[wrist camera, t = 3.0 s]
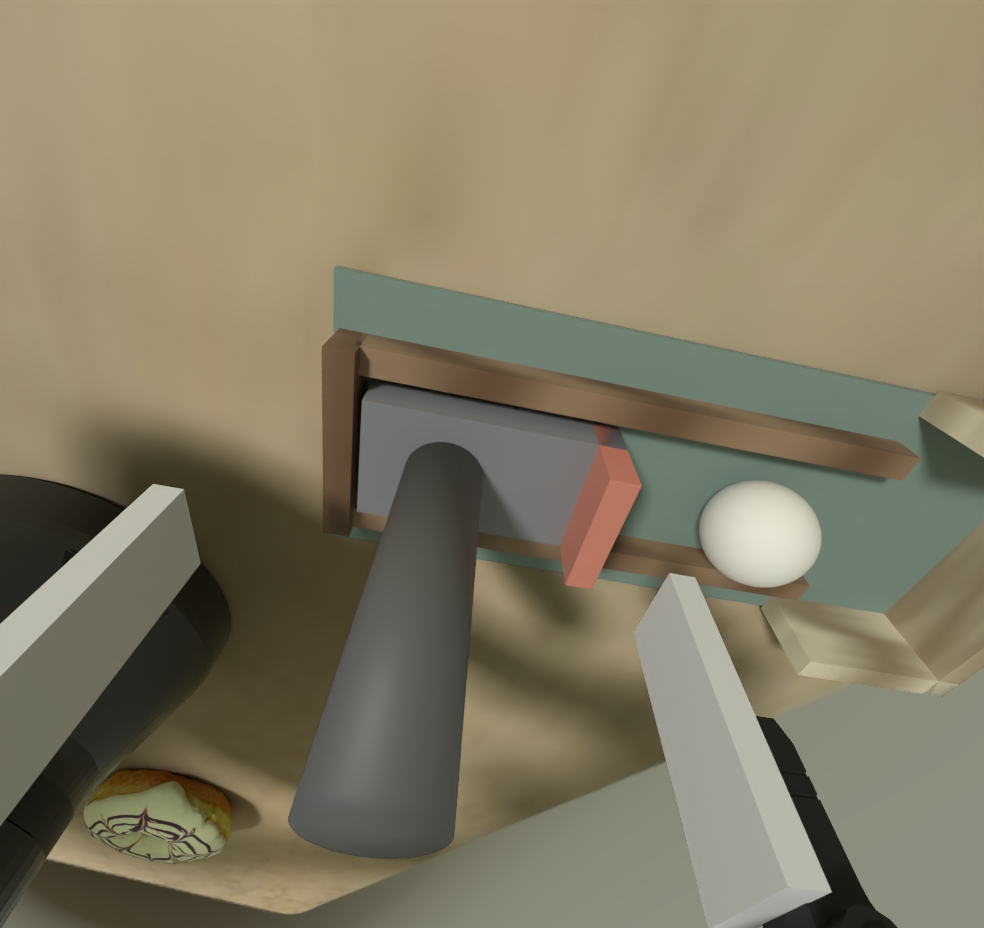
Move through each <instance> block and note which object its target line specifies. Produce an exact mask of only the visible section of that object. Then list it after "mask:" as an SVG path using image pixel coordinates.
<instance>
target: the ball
mask: <svg viewBox="0 0 984 928" xmlns="http://www.w3.org/2000/svg"><path fill="white" fill-rule="evenodd" d="M699 537H700V542H701V546H702V548H703V550H704V553H705V554H706V556H707V558H708V559H709V561H710V562H711V563H712V564H713V566H714V567H715V568H716V569H718V570H719V571H720V572H721V573H722V574H724V575H725V576H727V577H728V578H730V579H732V580H734V581H736V582H739V583H741V584H744V585H748V586H753V587H767V588H768V587H777V586H782V585H785V584H788V583H790V582H793V581H795V580H796V579H798V578H800V577H801V576H803V575H804V574H805V573H806V572H807V571H808V570H809V569H810V568H811V567H812V565H813V564H814V563H815V561H816V559H817V557H818V555H819V552H820V548H821V542H822V537H821V528H820V524H819V521H818V519H817V516H816V514H815V512H814V511H813V509H812V508H811V506H810V505H809V504H808V503H807V502H806V501H805V500H804V499H803V498H802V497H801V496H800V495H799V494H797V493H796V492H794V491H793V490H791V489H789V488H787V487H785V486H783V485H780V484H777V483H773V482H770V481H763V480H748V481H742V482H738V483H734V484H732V485H729V486H727V487H725V488H724V489H722V490H720V491H719V492H718V493H716V494H715V495H714V496H713V497H712V498H711V499H710V500H709V501H708V503H707V504H706V506H705V508H704V510H703V512H702V514H701V518H700V522H699Z"/></svg>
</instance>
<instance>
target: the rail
mask: <svg viewBox="0 0 984 928" xmlns="http://www.w3.org/2000/svg"><path fill="white" fill-rule="evenodd" d="M367 377H371V378H376V379H381V380H386V381H391V382H396V383H401V384H407V385H412V386H417V387H422V388H427V389H432V390H437V391H442V392H448V393H453V394H458V395H463V396H468V397H473V398H478V399H484V400H489V401H494V402H499V403H504V404H509V405H514V406H520V407H525V408H530V409H535V410H540V411H545V412H550V413H556V414H561V415H566V416H571V417H576V418H581V419H586V420H592V421H597V422H602V423H607V424H612V425H617V426H622V427H627V428H633V429H638V430H643V431H648V432H653V433H658V434H663V435H669V436H674V437H679V438H684V439H689V440H694V441H699V442H705V443H710V444H715V445H720V446H725V447H730V448H735V449H741V450H746V451H751V452H756V453H761V454H766V455H771V456H776V457H782V458H787V459H792V460H797V461H802V462H807V463H812V464H818V465H823V466H828V467H833V468H838V469H843V470H848V471H854V472H859V473H864V474H869V475H874V476H879V477H884V478H890V479H895V480H900V481H902V480H903V479H904V478H905V477H906V476H907V475H908V473H909V472H910V471H911V470H912V469H913V468H914V467H915V465H916V464H917V463H918V462H919V461H920V460H921V458H920V457H918V456H917V455H916V454H914V453H913V452H912V451H910V450H909V449H908V448H906V447H905V446H904V445H902V444H901V443H899V442H898V441H895V440H890V439H885V438H880V437H875V436H870V435H865V434H860V433H855V432H850V431H845V430H840V429H835V428H830V427H825V426H821V425H816V424H811V423H806V422H801V421H796V420H791V419H786V418H781V417H776V416H771V415H766V414H761V413H756V412H751V411H747V410H742V409H737V408H732V407H727V406H722V405H717V404H712V403H707V402H702V401H697V400H692V399H687V398H682V397H678V396H673V395H668V394H663V393H658V392H653V391H648V390H643V389H638V388H633V387H628V386H623V385H618V384H613V383H608V382H604V381H599V380H594V379H589V378H584V377H579V376H574V375H569V374H564V373H559V372H554V371H549V370H544V369H539V368H534V367H530V366H525V365H520V364H515V363H510V362H505V361H500V360H495V359H490V358H485V357H480V356H475V355H470V354H465V353H460V352H456V351H451V350H446V349H441V348H436V347H431V346H426V345H421V344H416V343H411V342H406V341H401V340H396V339H391V338H386V337H382V336H377V335H372V334H367V333H362V332H357V331H352V330H347V329H342V328H339V329H338V330H337V331H336V333H335V334H334V335H333V336H332V337H331V338H330V339H329V340H328V341H327V342H326V343H325V344H324V345H323V346H322V418H323V527H324V533H328V534H335V535H341V536H347V537H349V535H350V533H351V530H352V528H353V527H357V528H363V529H369V530H375V531H381V532H383V530H384V527H385V524H386V521H387V518H388V517H386V516H380V515H374V514H368V513H363V512H357V499H358V476H359V454H360V431H361V409H362V399H363V397H364V396H365V394H366V392H367ZM477 547H478V548H484V549H490V550H496V551H502V552H508V553H514V554H520V555H526V556H532V557H538V558H544V559H550V560H556V561H562V558H561V550H560V546H558V545H552V544H546V543H540V542H534V541H528V540H522V539H516V538H510V537H504V536H499V535H493V534H487V533H481V532H478V541H477ZM602 568H604V569H610V570H616V571H622V572H628V573H634V574H640V575H646V576H652V577H658V578H664V579H666V578H667V576H668V575H669V573H672V574H678V575H684V576H690V577H695V578H696V580H697V582H698V584H701V585H707V586H713V587H719V588H725V589H731V590H737V591H743V592H749V593H755V594H761V595H767V596H773V597H779V598H785V599H791V600H798V599H799V598H800V597H801V596H802V595H803V593H804V592H805V591H806V590H807V589H808V588H809V587H810V585H809V583H808V582H807V581H806V579H805V578H804V576H801V577H800V578H798V579H796V580H795V581H793V582H790V583H788V584H785V585H782V586H777V587H768V588H767V587H753V586H748V585H744V584H741V583H739V582H736V581H734V580H732V579H730V578H728V577H727V576H725V575H724V574H722V573H721V572H720V571H719V570H718V569H716V568H715V567H714V566H713V564H712V563H711V562H710V561H709V559H708V558H707V556H706V554H705V553H704V550H703V549H698V548H693V547H687V546H681V545H675V544H670V543H664V542H658V541H652V540H647V539H641V538H635V537H629V536H623V535H618V536H617V538H616V540H615V542H614V544H613V547H612V549H611V551H610V553H609V555H608V557H607V559H606V561H605V563H604V565H603V567H602Z"/></svg>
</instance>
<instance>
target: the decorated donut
mask: <svg viewBox="0 0 984 928" xmlns="http://www.w3.org/2000/svg"><path fill="white" fill-rule="evenodd" d="M83 814H84V820H85V825H86V827H87V828H88V830H89V832H90V834H91V835H92V836H93V837H95V838H96V839H98V840H100V841H102V842H104V843H105V844H107V845H109V846H111V847H112V848H114V849H115V850H117V851H119V852H122V853H124V854H127V855H130V856H134V857H137V858H141V859H145V860H150V861H155V862H165V863H172V864H178V863H186V862H190V861H194V860H202V859H206V858H209V857H211V856H214V855H217V854H219V853H220V852H221V851H222V849H223V848H224V846H225V843H226V841H227V839H228V837H229V835H230V833H231V827H232V825H231V818H232V810H231V806H230V804H229V801H228V800H227V798H226V797H225V796H224V794H223V793H222V791H220V790H218V789H215V787H214V786H212V785H209V784H204V783H201V782H200V781H198V780H195V779H188V778H186V777H184V776H182V775H173V774H172V773H171V772H169V771H165V770H158V771H155V770H146V769H139V770H121V771H118V772H117V773H115V774H114V775H113V776H112V777H111V778H110V779H108V780H107V781H106V782H104V783H103V784H102V785H101V786H100V788H99V790H98V792H97V794H96V795H95V796H94V797H93V798H91V799H90V800H88V801H87V802H86V804H85V807H84V812H83Z"/></svg>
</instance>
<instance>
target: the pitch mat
mask: <svg viewBox="0 0 984 928" xmlns="http://www.w3.org/2000/svg"><path fill="white" fill-rule="evenodd" d="M339 328H342V329H347V330H352V331H357V332H362V333H367V334H372V335H377V336H382V337H386V338H391V339H396V340H401V341H406V342H411V343H416V344H421V345H426V346H431V347H436V348H441V349H446V350H451V351H456V352H460V353H465V354H470V355H475V356H480V357H485V358H490V359H495V360H500V361H505V362H510V363H515V364H520V365H525V366H530V367H534V368H539V369H544V370H549V371H554V372H559V373H564V374H569V375H574V376H579V377H584V378H589V379H594V380H599V381H604V382H608V383H613V384H618V385H623V386H628V387H633V388H638V389H643V390H648V391H653V392H658V393H663V394H668V395H673V396H678V397H682V398H687V399H692V400H697V401H702V402H707V403H712V404H717V405H722V406H727V407H732V408H737V409H742V410H747V411H751V412H756V413H761V414H766V415H771V416H776V417H781V418H786V419H791V420H796V421H801V422H806V423H811V424H816V425H821V426H825V427H830V428H835V429H840V430H845V431H850V432H855V433H860V434H865V435H870V436H875V437H880V438H885V439H890V440H895V441H898V442H899V443H901V444H902V445H904V446H905V447H906V448H908V449H909V450H910V451H912V452H913V453H914V454H916V455H917V456H918V457H920V458H921V460H920V461H919V462H918V463H917V464H916V465H915V467H914V468H913V469H912V470H911V471H910V472H909V473H908V475H907V476H906V477H905V478H904V479H903V480H902V481H900V480H895V479H890V478H884V477H879V476H874V475H869V474H864V473H859V472H854V471H848V470H843V469H838V468H833V467H828V466H823V465H818V464H812V463H807V462H802V461H797V460H792V459H787V458H782V457H776V456H771V455H766V454H761V453H756V452H751V451H746V450H741V449H735V448H730V447H725V446H720V445H715V444H710V443H705V442H699V441H694V440H689V439H684V438H679V437H674V436H669V435H663V434H658V433H653V432H648V431H643V430H638V429H633V428H627V427H622V426H617V425H612V424H607V423H602V422H597V421H592V420H586V419H581V418H576V417H571V416H566V415H561V414H556V413H550V412H545V411H540V410H535V409H530V408H525V407H520V406H514V405H509V404H504V403H499V402H494V401H489V400H484V399H478V398H473V397H468V396H463V395H458V394H453V393H448V392H442V391H437V390H432V389H427V388H422V387H417V386H412V385H407V384H401V383H396V382H391V381H386V380H381V379H376V378H371V377H367V390H368V389H369V387H370V385H371V384H372V382H373V380H378V381H383V382H388V383H393V384H398V385H404V386H409V387H414V388H419V389H424V390H429V391H434V392H440V393H445V394H450V395H455V396H460V397H465V398H471V399H476V400H481V401H486V402H491V403H496V404H501V405H507V406H512V407H517V408H522V409H527V410H532V411H537V412H543V413H548V414H553V415H558V416H563V417H568V418H573V419H579V420H584V421H589V422H594V423H599V424H604V425H609V426H615V427H618V428H619V430H620V433H621V435H622V438H623V440H624V443H625V445H626V448H627V450H628V452H629V455H630V457H631V460H632V462H633V465H634V467H635V470H636V472H637V475H638V477H639V480H640V482H641V485H642V486H641V488H640V490H639V493H638V495H637V497H636V499H635V501H634V503H633V505H632V507H631V509H630V511H629V513H628V515H627V517H626V520H625V522H624V524H623V526H622V528H621V530H620V532H619V534H618V535H623V536H629V537H635V538H641V539H647V540H652V541H658V542H664V543H670V544H675V545H681V546H687V547H693V548H698V549H703V548H702V546H701V542H700V537H699V522H700V518H701V514H702V512H703V510H704V508H705V506H706V504H707V503H708V501H709V500H710V499H711V498H712V497H713V496H714V495H715V494H716V493H718V492H719V491H720V490H722V489H724V488H725V487H727V486H729V485H732V484H734V483H738V482H742V481H748V480H763V481H770V482H773V483H777V484H780V485H783V486H785V487H787V488H789V489H791V490H793V491H794V492H796V493H797V494H799V495H800V496H801V497H802V498H803V499H804V500H805V501H806V502H807V503H808V504H809V505H810V506H811V508H812V509H813V511H814V512H815V514H816V516H817V519H818V521H819V524H820V528H821V537H822V542H821V548H820V552H819V555H818V557H817V559H816V561H815V563H814V564H813V565H812V567H811V568H810V569H809V570H808V571H807V572H806V573H805V574H804V575H803V576H804V578H805V579H806V581H807V582H808V583H809V585H810V587H809V588H808V589H807V590H806V591H805V592H804V593H803V595H802V596H801V597H800V598H799V599H798V600H803V601H809V602H815V603H821V604H827V605H833V606H839V607H845V608H851V609H857V610H863V611H869V612H875V613H881V614H884V613H885V612H886V611H888V610H889V609H890V608H891V607H892V606H893V605H894V604H895V603H896V602H897V601H898V600H899V599H900V598H901V597H902V596H904V595H905V594H906V593H907V592H908V591H909V590H910V589H911V588H912V587H913V586H914V585H915V584H916V583H917V582H918V581H919V580H921V579H922V578H923V577H924V576H925V575H926V574H927V573H928V572H929V571H930V570H931V569H932V568H933V567H934V566H935V565H937V564H938V563H939V562H940V561H941V560H942V559H943V558H944V557H945V556H946V555H947V554H948V553H949V552H950V551H951V550H952V549H954V548H955V547H956V546H957V545H958V544H959V543H960V542H961V541H962V540H963V539H964V538H965V537H966V536H967V535H968V534H969V533H971V532H972V531H973V530H974V529H975V528H976V527H977V526H978V525H979V524H980V523H981V522H982V521H983V520H984V457H982V456H981V455H979V454H978V453H976V452H974V451H973V450H971V449H970V448H968V447H967V446H965V445H964V444H962V443H960V442H959V441H957V440H956V439H954V438H953V437H951V436H949V435H948V434H946V433H945V432H943V431H942V430H940V429H938V428H937V427H935V426H934V425H932V424H931V423H929V422H927V421H926V420H924V419H923V418H921V417H920V416H919V414H920V413H921V412H922V411H923V409H924V408H925V407H926V406H927V405H928V403H929V402H930V401H931V400H932V399H933V397H934V396H935V395H936V394H933V393H928V392H924V391H919V390H914V389H910V388H905V387H900V386H896V385H891V384H886V383H882V382H877V381H872V380H868V379H863V378H858V377H854V376H849V375H844V374H840V373H835V372H830V371H826V370H821V369H816V368H812V367H807V366H802V365H798V364H793V363H788V362H784V361H779V360H774V359H770V358H765V357H760V356H756V355H751V354H746V353H742V352H737V351H732V350H728V349H723V348H718V347H714V346H709V345H704V344H700V343H695V342H690V341H686V340H681V339H676V338H672V337H667V336H662V335H658V334H653V333H648V332H644V331H639V330H634V329H630V328H625V327H620V326H616V325H611V324H606V323H602V322H597V321H592V320H587V319H583V318H578V317H573V316H569V315H564V314H559V313H555V312H550V311H545V310H541V309H536V308H531V307H527V306H522V305H517V304H513V303H508V302H503V301H499V300H494V299H489V298H485V297H480V296H475V295H471V294H466V293H461V292H457V291H452V290H447V289H443V288H438V287H433V286H429V285H424V284H419V283H415V282H410V281H405V280H401V279H396V278H391V277H387V276H382V275H377V274H373V273H368V272H363V271H359V270H354V269H349V268H345V267H340V266H336V267H335V268H334V334H335V333H336V331H337V330H338V329H339ZM382 533H383V532H381V531H375V530H369V529H363V528H357V527H353V528H352V530H351V533H350V535H349V537H347V536H341V535H335V534H333V535H334V536H340V537H346V538H352V539H358V540H364V541H370V542H377V543H379V542H380V539H381V536H382ZM476 559H480V560H486V561H492V562H499V563H505V564H511V565H517V566H523V567H529V568H535V569H541V570H547V571H554V572H560V573H563V565H562V561H556V560H550V559H544V558H538V557H532V556H526V555H520V554H514V553H508V552H502V551H496V550H490V549H484V548H478V547H477V554H476ZM597 579H602V580H608V581H615V582H621V583H627V584H633V585H639V586H645V587H651V588H657V589H660V588H661V586H662V584H663V583H664V581H665V580H666V579H664V578H658V577H652V576H646V575H640V574H634V573H628V572H622V571H616V570H610V569H604V568H602V569H601V571H600V574H599V576H598V578H597ZM698 585H699V587H700V589H701V592H702V594H703V596H706V597H712V598H718V599H724V600H730V601H737V602H743V603H749V604H755V605H761V606H763V605H764V604H765V602H766V601H767V600H768V599H769V598H770V596H767V595H761V594H755V593H749V592H743V591H737V590H731V589H725V588H719V587H713V586H707V585H701V584H698Z"/></svg>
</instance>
